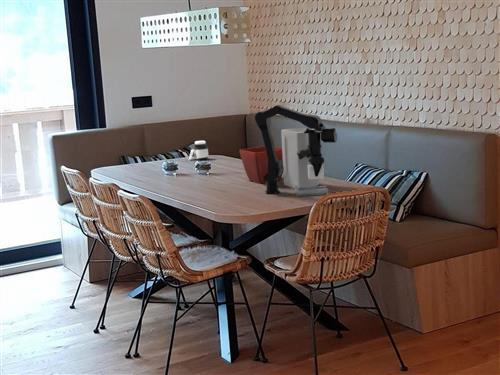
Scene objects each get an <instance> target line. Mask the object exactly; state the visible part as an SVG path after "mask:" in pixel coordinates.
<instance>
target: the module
mask: <svg viewBox="0 0 500 375" xmlns="http://www.w3.org/2000/svg"><path fill="white" fill-rule="evenodd" d="M308 178H309V179H319V180H320V179H321V180H323V179H325V168H324V163H323V164H322V166H321V169H320V172H319V174H318V176H317V177H316V176H315V173H314V168H313V165H308Z"/></svg>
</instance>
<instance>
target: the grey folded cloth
mask: <svg viewBox="0 0 500 375" xmlns="http://www.w3.org/2000/svg"><path fill="white" fill-rule="evenodd" d="M327 193H329V188H327V185H317V186H312V187H298V185H295V189H294V194H295V196H296V197H310V196H325V195H324V194H327Z"/></svg>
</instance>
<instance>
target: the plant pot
mask: <svg viewBox="0 0 500 375" xmlns="http://www.w3.org/2000/svg"><path fill="white" fill-rule="evenodd" d="M274 147H275V151H276V156H277V158H278V160H279V161H280V160H282V165H283V154H282V146H281V147H279V146H275V145H274ZM239 155H240V158H241V162H242V165H243V168H244V171H245V173H246V175H247V178H248V181H250V182H254V183H258V184H264V183H265V184H266V181H264V178H263V177H264V176H265V175H266V174H267V173H268V170H267V164H268V158H267V154H266V150H265V145H264V146H256V147H250V148H242V149H241V148H240V149H239ZM282 177H283V172H282V174H281V175H280V176H279V178H278V182H279V181H281V180H282Z"/></svg>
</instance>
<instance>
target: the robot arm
mask: <svg viewBox="0 0 500 375" xmlns="http://www.w3.org/2000/svg"><path fill="white" fill-rule="evenodd" d="M277 115H279V116H282V117H285V118H287V119H290V120H294V121H295V122H296V121H297V122H298V123H299V122H300V123H301V124H302V125H303V126H304V127H307V128H305V129H306V131H305V132H304V133H308V141H309V144H308V148H306V149H303V150H300V151H298V152H297V155H298V157H299V159H303V158H304V157H307V159H308V158H309V159H308V161H309V162H310V164H311V165H313V168H314V173H315V176H316V177H317V176H318V174H319V172H320V169H321V166H322V164H323V165H324V163H325V158H324V157H323V154H322V142H323V143H324V144H325V143H329V144H330V143H331V144H332V143H333V144H336V143H337V141H338V134H337V130H336V127H330V128H328V127H325V125H324V123H323V122H322V119H321V117H320V116H319V115H316V114H315V115H314V114H308V113H302V112H300V111H296V110H293V109H291V108H288V107H286V106H283V105H281V104H277V105H274V106H273V107H271V108H269V109H267V110H262V111H258V112H257V113H256V114H255V116H254V121H255V123H256V125H257V128H259V130H260V132H261V136H262V140H263V145H264V146H265V150H266V154H267V158H268V164H267V170H268V173H267V174H266V175H265V176H264V177H263V178H264V181H266V182H265V187H266V188H265V189H266V190H265V194H266V195H267V194H268V195H270V194H280V190H279V181H278V178H279V176H280V175H281V174H282V172H283V168H284V167H283V165H282V160H280V161H279V160H278V158H277V156H276V151H275V147H276V146H275V144H274V139H273V135H272V130H271V124H272V123H271V122H272V120H271V119H272V118H273V117H275V116H277ZM309 128H310V129H314V130H310V129H309ZM321 141H322V142H321ZM274 146H275V147H274ZM282 175H283V174H282Z"/></svg>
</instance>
